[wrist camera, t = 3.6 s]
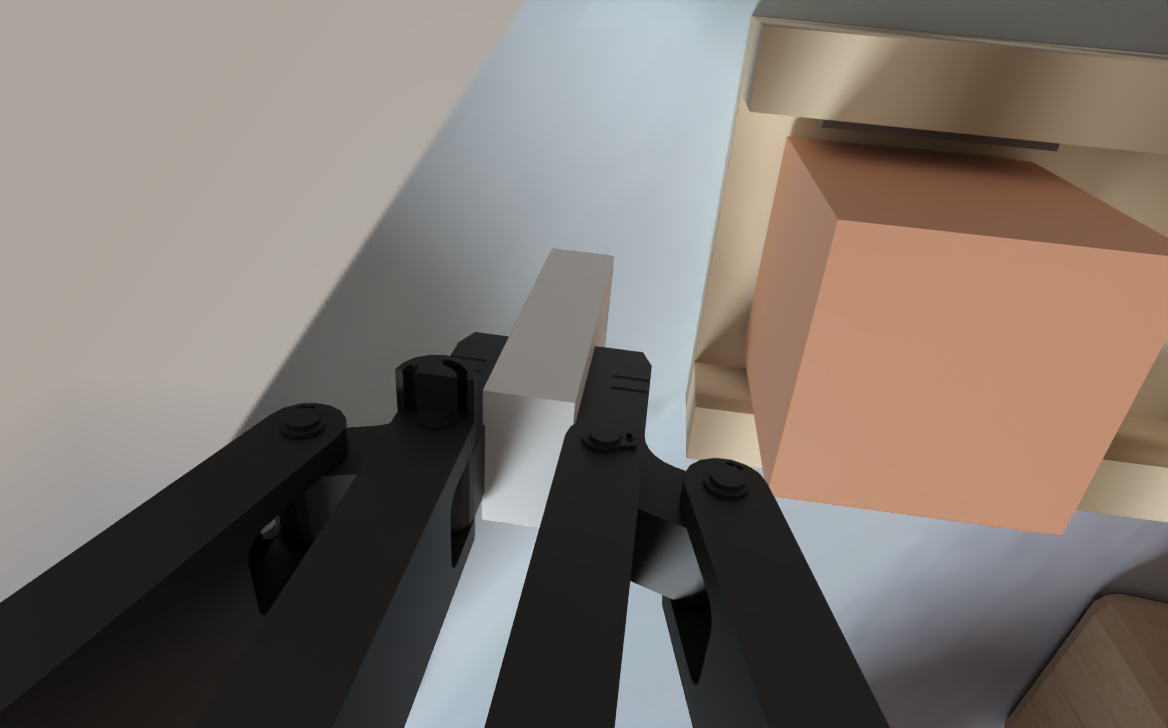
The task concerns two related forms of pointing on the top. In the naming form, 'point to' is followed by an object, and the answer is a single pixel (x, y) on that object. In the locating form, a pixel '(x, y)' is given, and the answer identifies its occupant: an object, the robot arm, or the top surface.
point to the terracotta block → (946, 333)
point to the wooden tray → (941, 124)
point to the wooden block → (1105, 671)
